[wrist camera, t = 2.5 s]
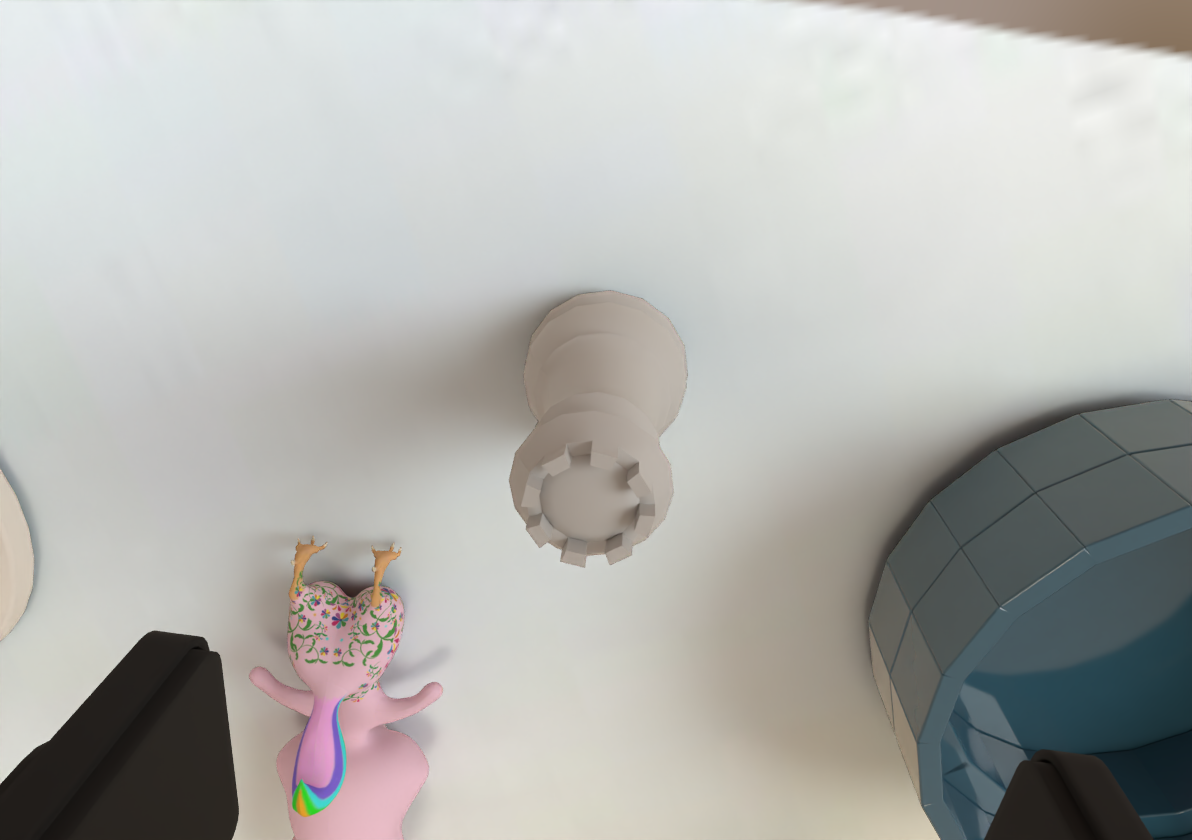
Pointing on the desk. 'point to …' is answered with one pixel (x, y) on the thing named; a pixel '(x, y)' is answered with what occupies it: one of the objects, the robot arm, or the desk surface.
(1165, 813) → the bowl
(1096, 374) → the desk surface
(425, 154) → the desk surface
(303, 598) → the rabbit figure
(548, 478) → the rook chess piece
